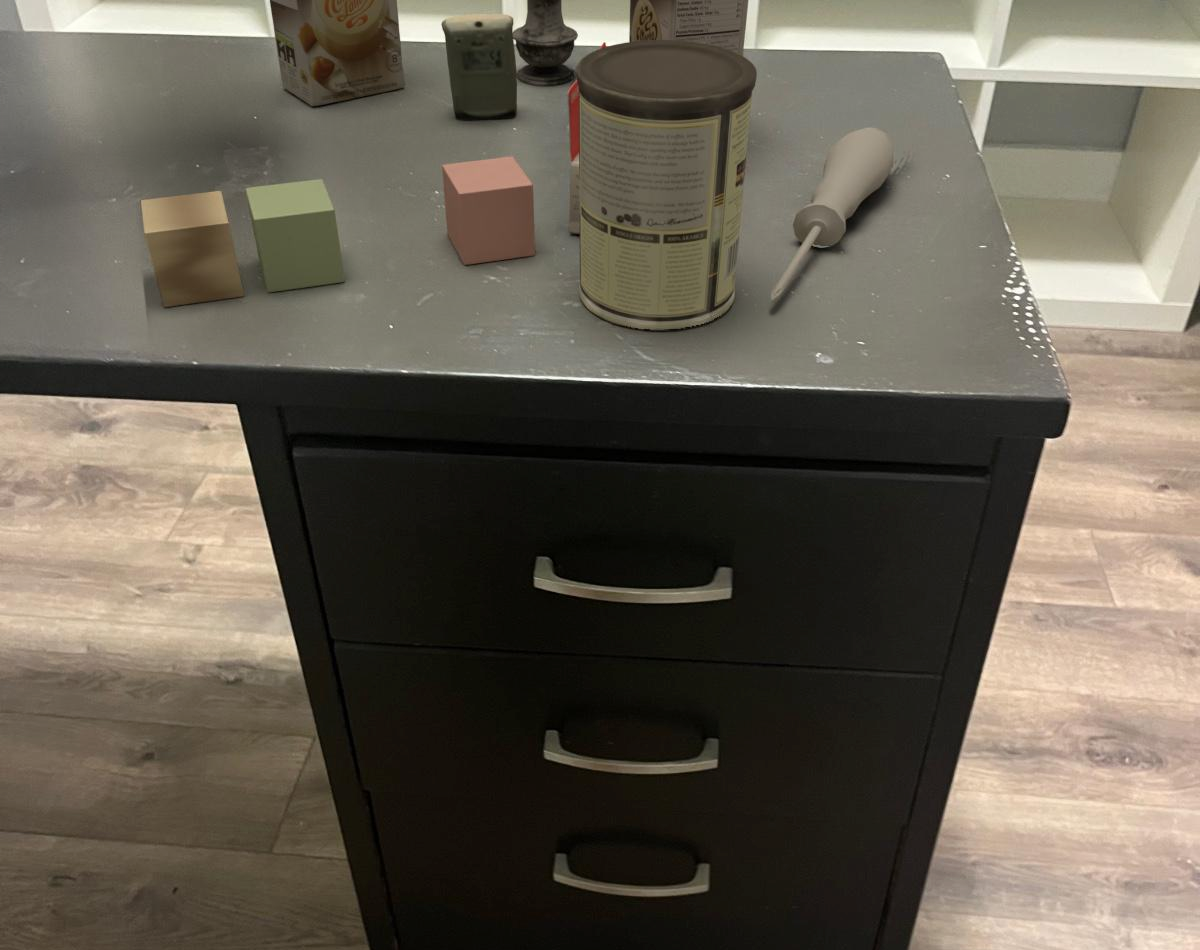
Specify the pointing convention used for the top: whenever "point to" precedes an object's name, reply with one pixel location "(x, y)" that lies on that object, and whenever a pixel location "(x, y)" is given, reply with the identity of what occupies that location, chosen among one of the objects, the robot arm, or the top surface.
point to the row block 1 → (191, 248)
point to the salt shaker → (545, 44)
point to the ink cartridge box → (574, 156)
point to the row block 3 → (489, 210)
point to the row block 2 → (295, 235)
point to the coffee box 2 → (690, 21)
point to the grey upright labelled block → (481, 66)
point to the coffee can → (661, 180)
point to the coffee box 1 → (337, 48)
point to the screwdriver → (840, 192)
